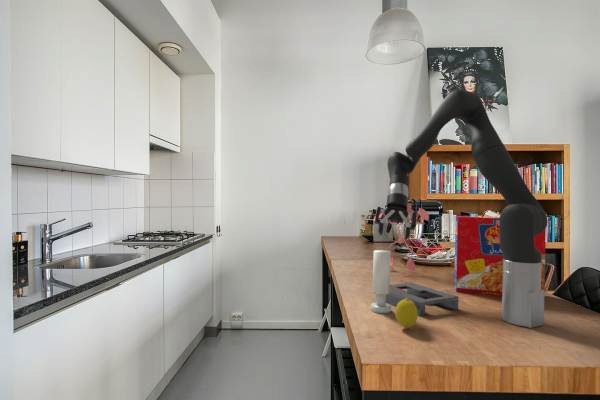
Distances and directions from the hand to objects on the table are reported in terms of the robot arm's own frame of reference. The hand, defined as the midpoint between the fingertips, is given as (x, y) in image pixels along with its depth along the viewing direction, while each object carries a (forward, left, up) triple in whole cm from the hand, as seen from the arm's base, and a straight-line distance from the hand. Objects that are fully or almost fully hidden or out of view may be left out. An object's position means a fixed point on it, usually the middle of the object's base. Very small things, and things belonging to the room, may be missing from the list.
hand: (393, 236), depth 124 cm
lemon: (-26, +18, -21) cm, 38 cm away
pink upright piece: (+30, -30, -21) cm, 47 cm away
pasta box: (-12, -39, -21) cm, 46 cm away
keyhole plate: (-10, -1, -21) cm, 23 cm away
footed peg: (-11, +14, -21) cm, 28 cm away
